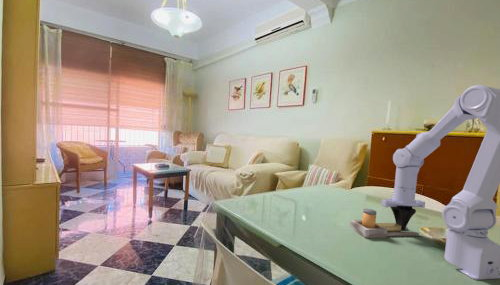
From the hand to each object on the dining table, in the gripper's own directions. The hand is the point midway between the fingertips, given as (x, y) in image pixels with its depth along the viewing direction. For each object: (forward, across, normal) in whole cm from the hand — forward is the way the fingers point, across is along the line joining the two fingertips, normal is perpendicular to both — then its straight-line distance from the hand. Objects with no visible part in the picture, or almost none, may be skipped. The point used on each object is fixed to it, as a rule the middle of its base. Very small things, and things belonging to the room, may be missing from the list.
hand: (400, 228), depth 76 cm
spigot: (+1, +12, 0) cm, 12 cm away
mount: (+2, +5, 0) cm, 5 cm away
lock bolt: (+1, +5, 0) cm, 5 cm away
